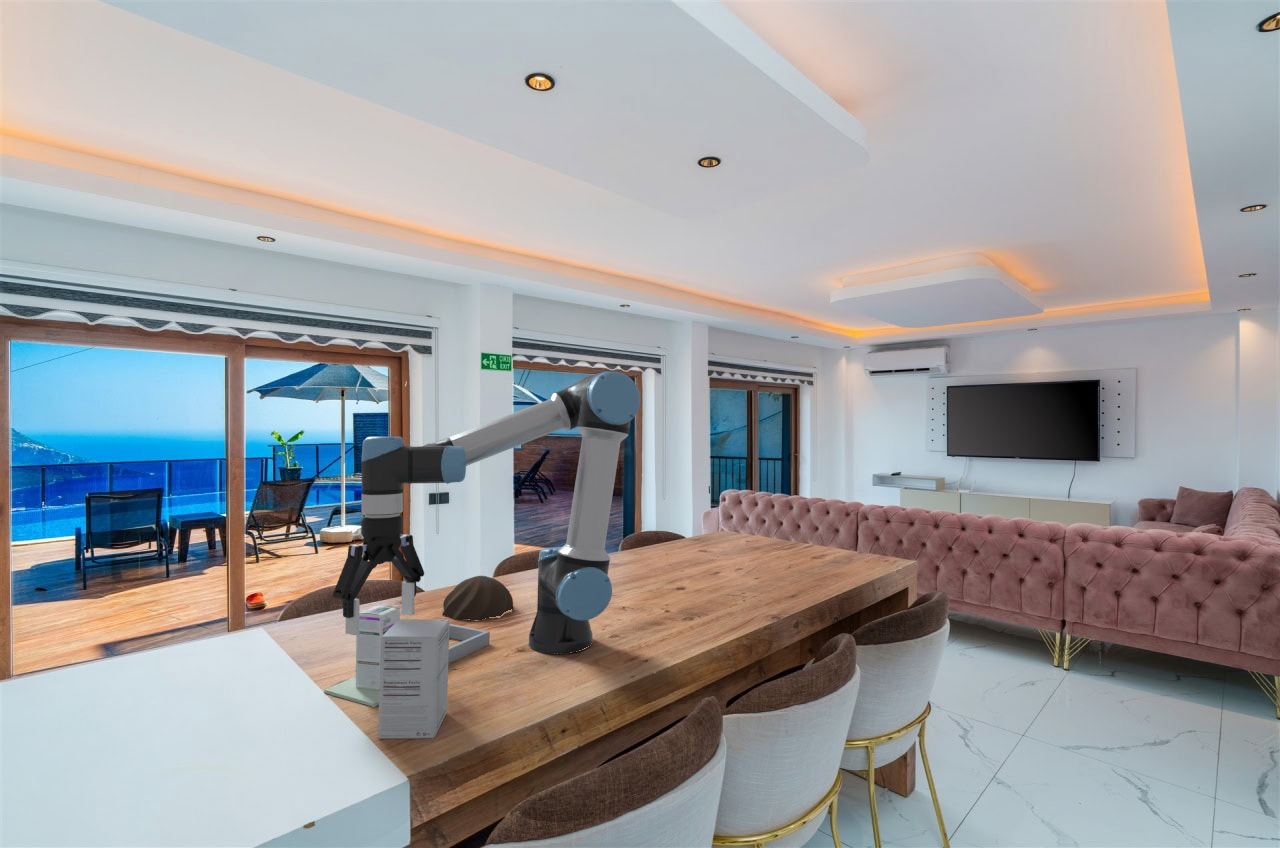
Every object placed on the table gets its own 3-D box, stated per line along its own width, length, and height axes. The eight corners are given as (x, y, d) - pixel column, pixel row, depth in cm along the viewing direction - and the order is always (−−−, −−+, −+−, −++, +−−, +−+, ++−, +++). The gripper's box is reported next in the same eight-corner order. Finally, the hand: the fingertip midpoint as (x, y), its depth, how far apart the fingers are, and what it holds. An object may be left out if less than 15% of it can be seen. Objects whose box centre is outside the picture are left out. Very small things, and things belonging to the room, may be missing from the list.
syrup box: (380, 691, 117) (383, 614, 117) (353, 687, 118) (356, 611, 118) (399, 680, 122) (401, 606, 122) (373, 676, 124) (375, 604, 124)
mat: (426, 681, 123) (426, 678, 123) (374, 707, 111) (374, 703, 111) (379, 669, 129) (379, 667, 129) (324, 692, 117) (324, 689, 117)
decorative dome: (513, 601, 185) (514, 567, 185) (512, 621, 165) (513, 583, 165) (447, 602, 181) (448, 568, 181) (437, 623, 162) (438, 585, 162)
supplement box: (394, 713, 109) (397, 618, 109) (447, 712, 110) (450, 618, 110) (376, 740, 100) (379, 635, 100) (434, 739, 100) (437, 635, 101)
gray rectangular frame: (489, 644, 146) (489, 631, 146) (417, 678, 125) (417, 663, 125) (440, 634, 152) (440, 622, 152) (363, 664, 131) (364, 650, 131)
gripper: (415, 506, 134) (414, 604, 133) (311, 522, 111) (310, 640, 111) (442, 508, 130) (441, 609, 130) (341, 525, 108) (340, 646, 108)
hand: (381, 623), depth 120 cm, fingers open, 13 cm apart
